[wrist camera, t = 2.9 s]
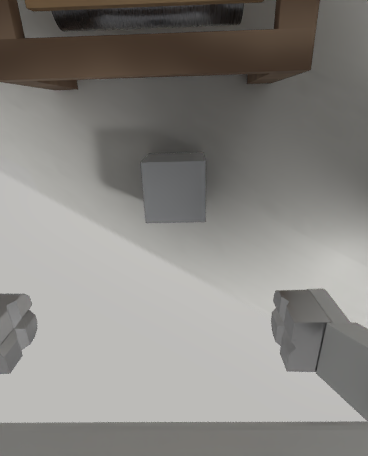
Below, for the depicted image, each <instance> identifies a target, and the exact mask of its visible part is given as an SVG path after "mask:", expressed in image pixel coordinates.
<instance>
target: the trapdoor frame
mask: <svg viewBox="0 0 368 456" xmlns="http://www.w3.org/2000/svg"><path fill="white" fill-rule="evenodd" d="M319 2H320V0H276V9H275V21H274V29H266V30H239V31H212V32H185V33H158V34H131V35H104V36H77V37H50V38H25V37H24V32H23V27H22V22H21V18H20V13H19V8H18V3H17V0H0V82H4V83H11V84H17V85H24V86H31V87H38V88H44V89H51V90H73V89H78V86H77V80H84V79H114V78H145V77H175V76H205V75H236V74H248V75H247V84H261V83H273V82H276V81H279V80H282V79H285V78H288V77H291V76H294V75H297V74H300V73H303V72H306V71H309V70H311V64H312V56H313V48H314V40H315V33H316V25H317V17H318V10H319Z"/></svg>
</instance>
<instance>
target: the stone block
mask: <svg viewBox="0 0 368 456" xmlns="http://www.w3.org/2000/svg"><path fill="white" fill-rule="evenodd" d="M141 174H142V186H143V197H144V208H145V220H146V223H175V222H206V160H205V157H204V154H203V152H183V153H149V154H148V155H147V156H146V157H145V158H144V159H143V160H142V161H141Z"/></svg>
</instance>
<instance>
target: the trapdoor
mask: <svg viewBox="0 0 368 456" xmlns="http://www.w3.org/2000/svg"><path fill="white" fill-rule="evenodd" d="M263 1H264V0H25V4H26V8H27V9H29V10H32V11H52V14H53V16H54V19H55V21H56V23H57V25H58V26H59V28H60V29H61V30H62V31H88V30H114V29H141V28H167V27H194V26H220V25H240V23H241V19H242V14H243V7H244V3H258V2H263Z"/></svg>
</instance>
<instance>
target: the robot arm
mask: <svg viewBox="0 0 368 456" xmlns="http://www.w3.org/2000/svg"><path fill="white" fill-rule="evenodd" d="M273 302H274V304H275V306H276V308H275V310H274V311H273V312H272V318H271V324H272V331H273V336H274V338H275V341H276V342H277V343H278V344H279V345H280V346H281V349H280V355H281V357H282V360H283V363H284V365H285V368H286V370H287V371H295V372H296V371H299V372H316V374H317V375H318V376H319V377H320V378H322V379H323V380H324V381H325V382H326V383H327V384H328V385H329V386H330V387H331V388H332V389H333V390H335V391H336V392H337V393H338V394H339V395H340V396H341V397H342V398H343V399H344V400H345V401H346V402H347V403H348V404H349V405H351V406H352V407H353V408H354V409H355V410H356V411H357V412H358V413H359V414H360V415H361V416H362V417H363V418H365V419H366V420H367V421H368V329H367V328H365V327H363V326H361V325H360V324H358V323H351V322H350V321H349V320H348V318H347V317H346V316H345V314H344V313H343V312H342V310H341V309H340V308H339V307H338V305H337V304H336V303H335V301H334V300H333V299H332V298H331V296H330V295H329V294H328V292H327V291H326V290H324V289H307V290H276V291H275V293H274V299H273ZM31 306H32V302H31V299H30V297H29V296H28V295H26V294H0V374H9V373H11V372H12V370H13V369H14V367H15V366H16V364H17V363H18V361H19V360H20V359H21V357H22V349H24V348H25V347H27V346H28V345H30V344H31V342H32V341H33V339H34V337H35V334H36V331H37V319H36V316H35V314H33V313H32V312H31V311H30V310H29V309H30V307H31ZM0 456H368V422H115V423H114V422H108V423H107V422H106V423H105V422H101V423H100V422H99V423H98V422H94V423H0Z"/></svg>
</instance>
